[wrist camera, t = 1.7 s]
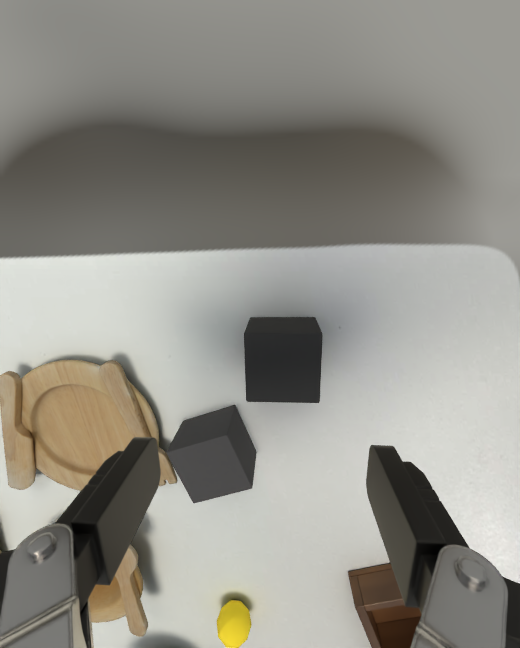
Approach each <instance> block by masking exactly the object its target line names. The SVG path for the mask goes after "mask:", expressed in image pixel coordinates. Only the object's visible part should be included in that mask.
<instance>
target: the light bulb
mask: <svg viewBox="0 0 520 648" xmlns="http://www.w3.org/2000/svg"><path fill="white" fill-rule="evenodd" d="M250 628H251V619H250V613H249V610H248V609H247V608H246V606H245V605H244V604H243V603H242V602H241V601H235V600H230V601H229V602H228V603H227V604H225V605H224V606H223V607H222V608H221V611H220V614H219V617H218V619H217V629H218V637H219V639H220V640H221V641H222V642H223V644H224V645H225V646H226V647H229V648H238V647H239V646H241V645H242V644H243V643H244V642H245V641H246V640H247V638H248V634H249V631H250Z"/></svg>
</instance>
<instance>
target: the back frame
mask: <svg viewBox="0 0 520 648" xmlns="http://www.w3.org/2000/svg"><path fill="white" fill-rule="evenodd" d="M348 574H349V579H350V584H351V589H352V594H353V599H354V604H355V608H356V610H357V613H358V615H359V618H360V620H361V622H362V625H363V627H364V630H365V632H366V634H367V637H368V639H369V642H370V644H371V646H372V648H410V647H411V644H412V640H413V637H414V633H415V630H416V627H417V624H419V621H420V618H421V612H420V609H419V608H412V607H405V604H404V601H403V598H402V596H401V593H400V590H399V587H398V584H397V581H396V578H395V575H394V572H393V569H392V566H391V563H389V564H384V565H379V566H374V567H369V568H364V569H359V570H354V571H349V572H348Z"/></svg>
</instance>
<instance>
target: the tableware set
mask: <svg viewBox="0 0 520 648" xmlns="http://www.w3.org/2000/svg"><path fill="white" fill-rule="evenodd" d="M0 407H1V418H2V429H3V440H4V449H5V458H6V467H7V476H8V485H9V486H10V487H11V488H15V489H18V490H24V489H26V488H28V487H30V486H31V485H32V484H33V483H34V481H35V475H36V469H38V470H39V471H41V472H42V473H43V474H44V475H46V476H47V477H49V478H50V479H52V480H54V481H56V482H57V483H60V484H62V485H64V486H67V487H69V488H72V489H76V490H79V491H81V490H82V489H83V488H84V487H85V485H87V484H88V482H89V480H90V479H91V478H92V476H93V475H95V474H96V471H97V470H98V469H99V468H100V466H101V465H102V464H103V463H104V461H105V460H107V459H108V458H109V457H111V456H112V455H113V454H115V453H116V452H117V451H124V450H125V448H126V447H127V445H128V444H129V443H130V441H131V440H132V439H133V438H134V437H152V438H155V439H156V440H157V446H158V454H159V462H160V469H161V476H160V482H159V486H163V485H165V484H166V481H165V480H168V482H169V484H174V483H176V482H177V476H176V474H175V471H174V469H173V466H172V464H171V461H170V459H169V457H168V455H167V453H166V452H165V451H164V450H162V449H161V448H159V431H158V425H157V421H156V419H155V416H154V413H153V411H152V409H151V407H150V405H149V404H148V402H147V401H146V399H145V398H144V397H143V395H142V394H141V393H140V392H139V391H138V390H137V389H136V388H135V387H134V386H133V385H132V384H131V383H130V382H129V381H128V380H127V378H126V375H125V373H124V370H123V368H122V366H121V365H120V363H118V362H117V361H113V360H111V361H107V362H105V363H104V364H102V365H98V364H95V363H91V362H87V361H81V360H59V361H54V362H50V363H47V364H44V365H41V366H39V367H37V368H35V369H33V370H32V371H30V372H29V373H27V374H26V375H25V376H24V377H23V378H22V379H21V378H20V377H19V375H18V374H17V373H15V372H12V371H8V372H6V373H4V374H2V375H0ZM0 553H1V550H0ZM137 563H138V554H137V552H136V550H135V549H134V548H133V547H132V546H131V545H129V548H128V550H127V552H126V554H125V556H124V558H123V560H122V562H121V564H120V566H119V568H118V570H117V572H116V574H115V576H114V578H113V580H112V582H111V584H110V585H95V587H94V589H93V591H92V593H91V594H90V596H89V602H90V611H91V622H95V623H99V622H108V621H113V620H116V619H119V618H121V617H124V616H126V617H127V621H128V626H129V629H130V632H131V633H132V634H134V635H136V636H139V637H142V636H144V635H145V634H146V630H147V627H148V622H147V618H146V616H145V613H144V609H143V606H142V603H141V600H140V598H141V595H142V591H143V578H142V575H141V572H140V570H139V568H138V566H137Z"/></svg>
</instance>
